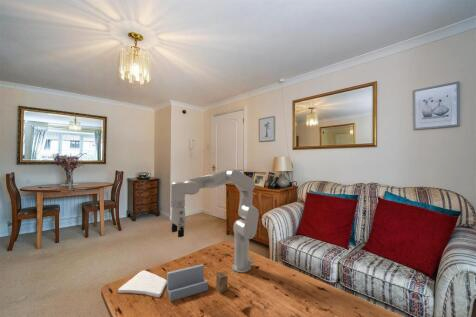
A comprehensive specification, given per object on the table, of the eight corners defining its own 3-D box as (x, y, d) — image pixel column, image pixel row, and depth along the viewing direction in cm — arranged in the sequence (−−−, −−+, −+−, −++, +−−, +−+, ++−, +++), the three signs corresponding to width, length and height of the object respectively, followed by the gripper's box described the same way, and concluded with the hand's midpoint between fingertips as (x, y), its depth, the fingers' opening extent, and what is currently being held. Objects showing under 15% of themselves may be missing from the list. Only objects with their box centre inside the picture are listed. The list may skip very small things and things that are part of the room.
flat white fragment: (116, 296, 111) (158, 301, 106) (116, 289, 111) (158, 294, 106) (142, 273, 132) (178, 276, 127) (141, 268, 132) (178, 271, 127)
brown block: (223, 285, 118) (223, 271, 118) (227, 291, 113) (228, 276, 113) (216, 288, 116) (216, 273, 116) (220, 293, 111) (220, 278, 111)
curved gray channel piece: (202, 281, 122) (202, 264, 123) (207, 290, 114) (208, 271, 114) (167, 290, 113) (167, 272, 113) (170, 301, 105) (170, 281, 105)
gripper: (190, 205, 113) (190, 237, 113) (178, 200, 127) (178, 228, 126) (177, 207, 108) (176, 240, 108) (166, 202, 122) (166, 231, 122)
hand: (177, 234), depth 117 cm, fingers open, 9 cm apart
